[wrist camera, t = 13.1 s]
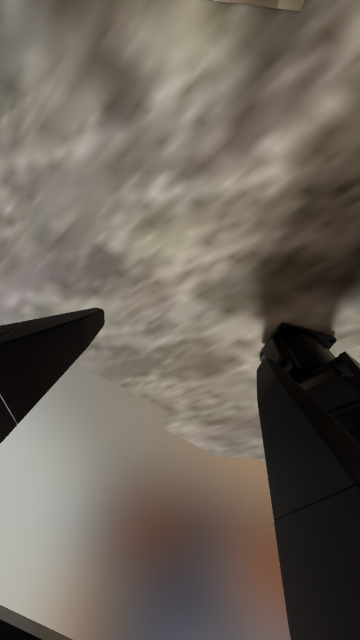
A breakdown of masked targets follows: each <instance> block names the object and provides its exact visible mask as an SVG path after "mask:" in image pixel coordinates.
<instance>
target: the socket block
mask: <svg viewBox="0 0 360 640" xmlns="http://www.w3.org/2000/svg"><path fill="white" fill-rule="evenodd" d="M213 1H221V2H229V3H237V4H245V5H253V6H261V7H269V8H277V9H285V10H293V11H301V9H302V7H303V4H304V1H305V0H213Z"/></svg>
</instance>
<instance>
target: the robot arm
mask: <svg viewBox="0 0 360 640" xmlns="http://www.w3.org/2000/svg"><path fill="white" fill-rule="evenodd" d="M104 322H105V320H104V310H103V309H99V308H91V309H86V310H81V311H75V312H70V313H65V314H60V315H54V316H49V317H44V318H39V319H33V320H28V321H23V322H20V323H12V324H7V325H1V326H0V443H1V442H2V441H3V440H4V439H5V438H6V437H7V436H8V435H9V433H10V432H11V431H12V430H13V429H14V428H15V427H16V426H17V424H18V423H19V422H20V421H21V420H22V419H23V418H24V417H25V416H26V415H27V414H28V412H29V411H30V410H31V409H32V408H33V407H34V406H35V405H36V403H38V401H39V400H40V399H41V398H42V397H43V396H44V395H45V394H46V393H47V391H48V390H49V389H50V388H51V387H52V386H53V385H54V384H55V383H56V382H57V380H58V379H59V378H60V377H61V376H62V375H63V374H64V373H65V372H66V371H67V369H68V368H69V367H70V366H71V365H72V364H73V363H74V362H75V361H76V360H77V358H78V357H79V356H80V355H81V354H82V353H83V352H84V351H85V350H86V348H87V347H88V346H89V345H90V344H91V342H92V341H93V340H94V338H95V337H96V335H97V334H98V333H99V331H100V330H101V328H102V327H103V326H104ZM283 326H286V327H285V328H283ZM330 339H332V340H330ZM329 340H330V341H329ZM335 342H336V338H335V337H334V336H332V335H328V334H325V333H321V332H318V331H314V330H310V329H307V328H303V327H299V326H296V325H292V324H289V323H281V324H280V325H279V327H278V328H277V330H276V332H275V333H274V335H273V336H271V337H270V339H269V341H268V342H267V344H266V345H265V347H264V349H263V353H262V354H261V356H260V361H261V364H260V366H259V367H258V369H257V401H258V409H259V416H260V423H261V430H262V438H263V445H264V452H265V459H266V466H267V473H268V481H269V488H270V495H271V502H272V509H273V517H274V520H275V521H274V524H275V532H276V539H277V546H278V554H279V561H280V568H281V575H282V582H283V589H284V597H285V604H286V611H287V618H288V625H289V631H290V637H291V640H360V364H359V363H358V362H357V361H356V360H355V359H353V358H352V357H351V356H350V355H349V354H347V353H346V352H343V353H341V354H339V356H338V357H336V358H335V356H334V355H333V354H332V353H331V352H330V351H329V349H330V348H331V347H332V346H333V344H334V343H335ZM0 640H72V639H70V638H68V637H66V636H64V635H62V634H60V633H58V632H55V631H54V630H51V629H49V628H47V627H45V626H43V625H41V624H39V623H37V622H35V621H32V620H30V619H28V618H26V617H24V616H22V615H20V614H18V613H16V612H14V611H11V610H10V609H7V608H5V607H3V606H1V605H0Z"/></svg>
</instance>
